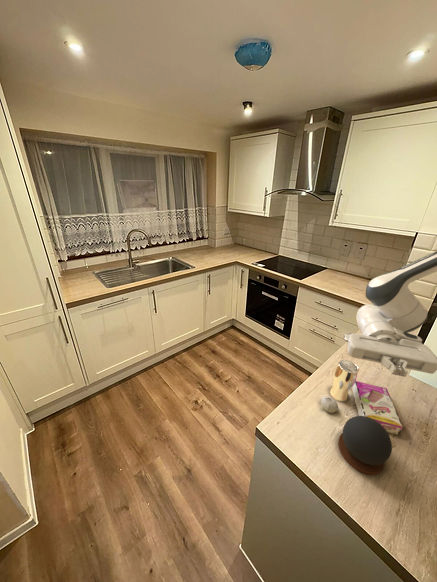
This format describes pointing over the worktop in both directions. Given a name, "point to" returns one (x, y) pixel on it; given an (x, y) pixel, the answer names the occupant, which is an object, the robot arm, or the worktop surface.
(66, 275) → the worktop surface
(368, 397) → the candy bar box
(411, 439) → the worktop surface
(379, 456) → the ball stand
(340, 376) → the cream cylindrical can
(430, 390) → the worktop surface
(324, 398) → the garlic
